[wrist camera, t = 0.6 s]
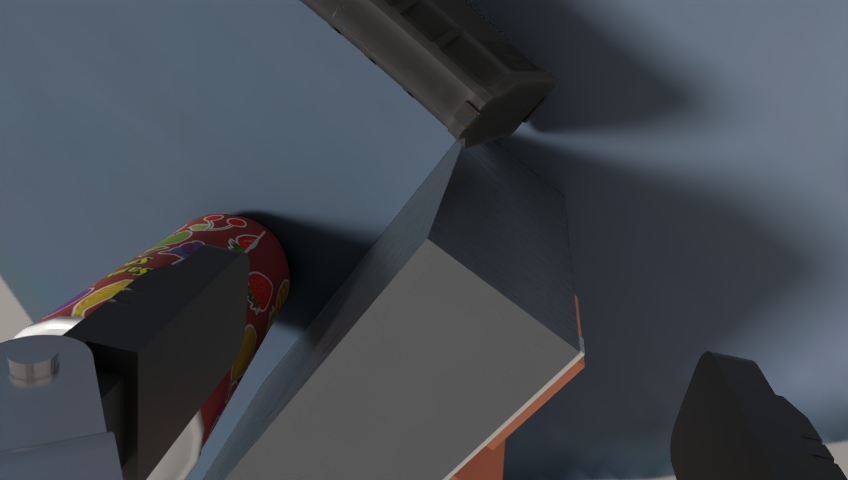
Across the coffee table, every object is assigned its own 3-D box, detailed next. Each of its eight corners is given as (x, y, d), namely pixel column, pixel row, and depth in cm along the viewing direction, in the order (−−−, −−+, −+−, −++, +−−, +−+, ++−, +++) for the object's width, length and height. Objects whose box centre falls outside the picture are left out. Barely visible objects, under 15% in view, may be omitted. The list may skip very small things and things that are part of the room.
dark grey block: (470, 123, 33) (427, 238, 20) (569, 200, 34) (587, 358, 21) (261, 385, 41) (139, 580, 29) (344, 441, 42) (260, 656, 30)
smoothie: (206, 161, 36) (-133, 386, 18) (338, 246, 37) (143, 543, 19) (149, 273, 39) (-181, 556, 21) (271, 348, 40) (53, 682, 22)
